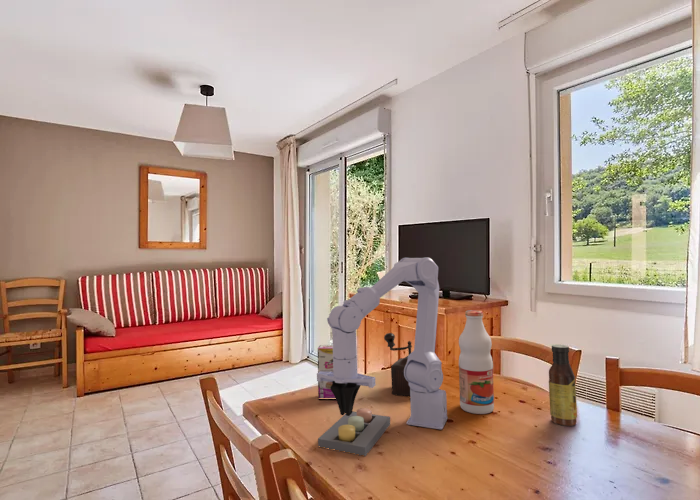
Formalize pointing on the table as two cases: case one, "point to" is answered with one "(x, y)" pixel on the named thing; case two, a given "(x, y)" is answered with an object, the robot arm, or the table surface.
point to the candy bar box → (325, 370)
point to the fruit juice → (475, 366)
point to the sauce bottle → (562, 388)
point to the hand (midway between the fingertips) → (346, 413)
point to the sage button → (356, 423)
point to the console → (362, 440)
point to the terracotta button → (365, 414)
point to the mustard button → (346, 433)
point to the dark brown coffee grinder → (398, 369)
